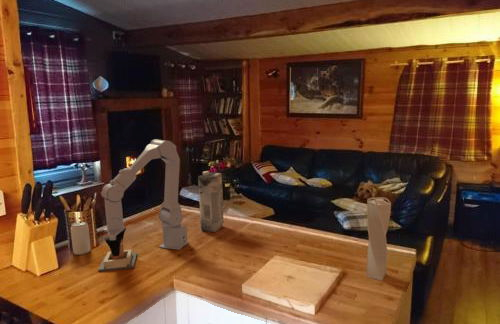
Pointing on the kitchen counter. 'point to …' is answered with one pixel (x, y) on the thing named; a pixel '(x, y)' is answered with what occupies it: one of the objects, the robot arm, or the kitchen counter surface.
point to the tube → (121, 254)
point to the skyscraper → (377, 237)
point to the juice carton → (210, 201)
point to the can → (80, 238)
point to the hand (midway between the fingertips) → (117, 251)
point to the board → (118, 261)
